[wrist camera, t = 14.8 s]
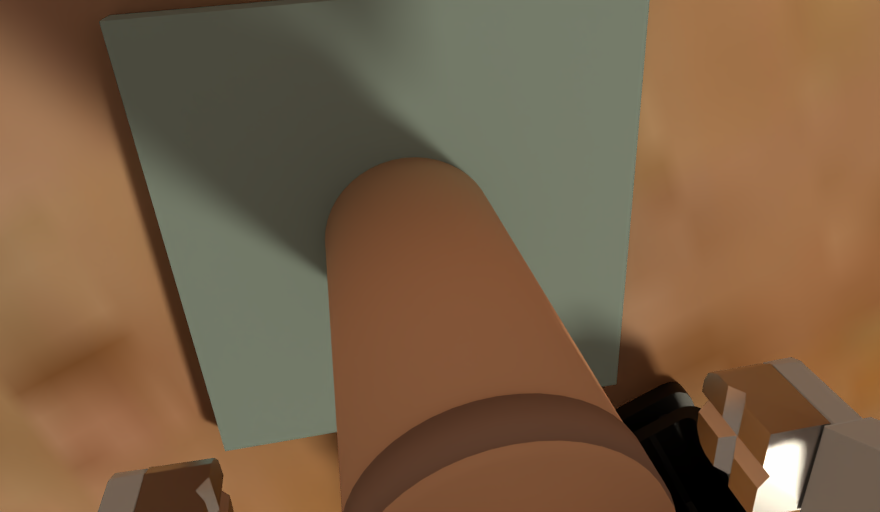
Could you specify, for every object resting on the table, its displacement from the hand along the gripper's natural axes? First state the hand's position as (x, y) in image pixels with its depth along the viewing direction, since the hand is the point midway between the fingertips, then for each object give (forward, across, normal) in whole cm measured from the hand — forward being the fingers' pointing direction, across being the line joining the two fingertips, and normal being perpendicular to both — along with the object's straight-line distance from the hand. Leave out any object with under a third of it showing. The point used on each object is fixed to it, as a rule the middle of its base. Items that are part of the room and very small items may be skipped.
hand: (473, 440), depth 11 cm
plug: (+7, 0, 0) cm, 7 cm away
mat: (+8, 0, 0) cm, 8 cm away
